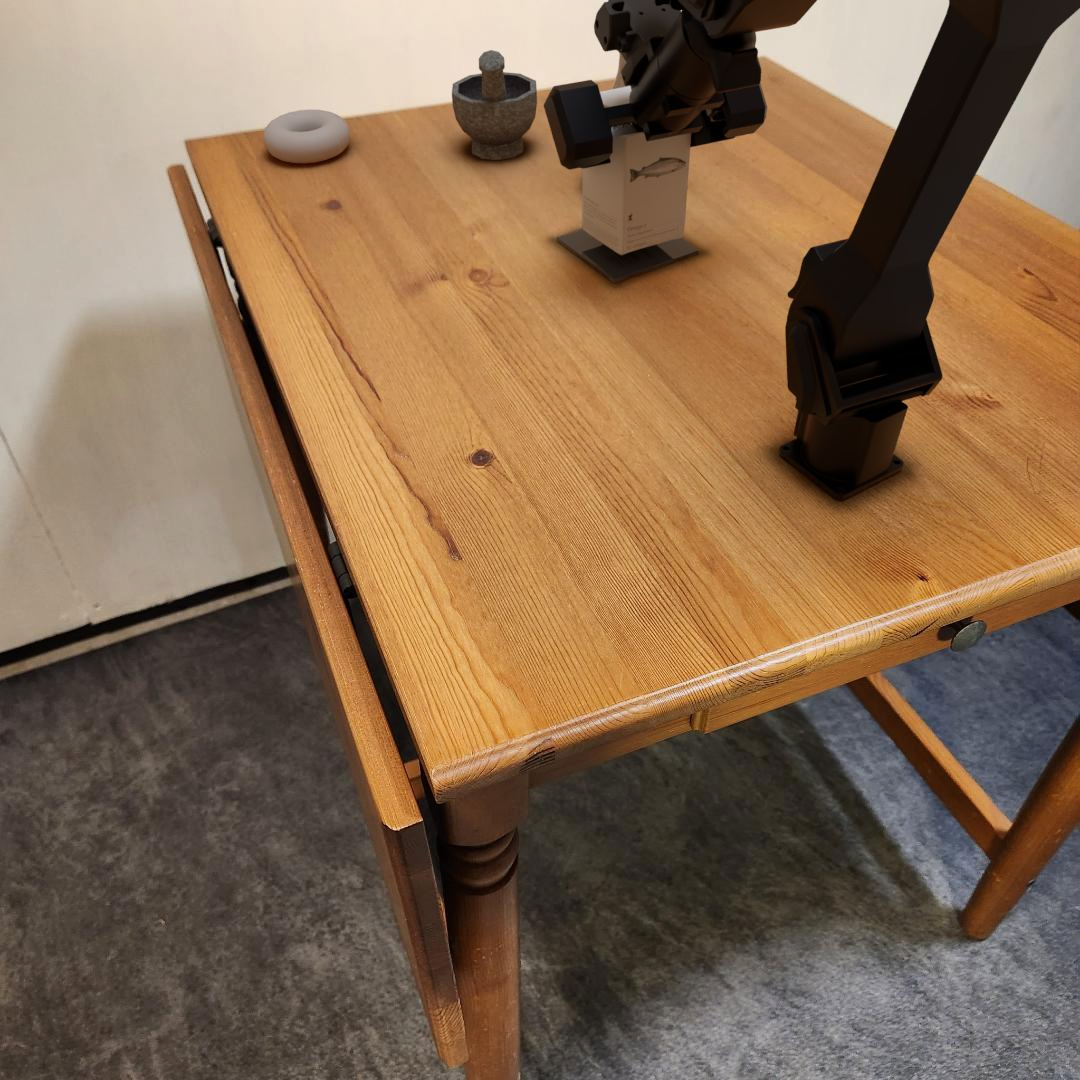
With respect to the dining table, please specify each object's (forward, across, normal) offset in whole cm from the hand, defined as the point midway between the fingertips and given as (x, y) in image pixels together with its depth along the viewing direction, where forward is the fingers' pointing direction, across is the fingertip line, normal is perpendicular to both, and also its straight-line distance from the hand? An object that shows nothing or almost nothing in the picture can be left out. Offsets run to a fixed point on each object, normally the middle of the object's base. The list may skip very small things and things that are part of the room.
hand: (624, 154), depth 87 cm
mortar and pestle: (+24, +4, -12) cm, 27 cm away
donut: (+31, +24, -19) cm, 43 cm away
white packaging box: (+4, 0, +6) cm, 8 cm away
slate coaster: (+5, 0, +7) cm, 9 cm away
